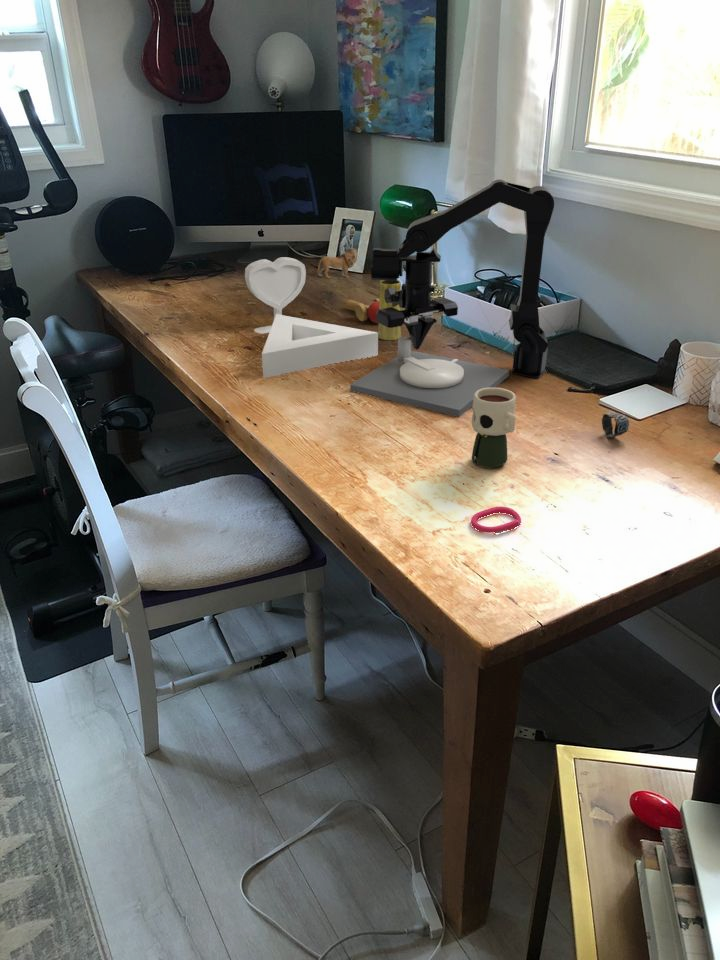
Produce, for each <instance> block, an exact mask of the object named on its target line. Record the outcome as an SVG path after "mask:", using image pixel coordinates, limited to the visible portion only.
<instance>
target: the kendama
mask: <svg viewBox="0 0 720 960" xmlns="http://www.w3.org/2000/svg"><path fill="white" fill-rule="evenodd" d="M344 306H345V308H346V310H348V311H354V312H355V315H356V317H357V319H358V320H359V321H361V322H364V321H367V320H368V319H369V320H370V322H372V323H375V324H377V325H379V323H378V322H376V313H377V312H378V310H379V298H374V299H373V300H372V303H369V304H368V305H367V304H364V303H361V302H359V301H355V300H353V299H348V300H347V301H346V302H345V305H344Z"/></svg>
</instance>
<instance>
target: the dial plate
mask: <svg viewBox="0 0 720 960" xmlns="http://www.w3.org/2000/svg"><path fill="white" fill-rule="evenodd" d="M411 357H414V358H416V359H418V360H419V359H440V360H446V361H450V362H454V363H456V364H458V365H460V366H461V367H462V368H463V369H464V378H463V380H462V382H460V383H459V384H457V385H454V386H451V387H446V388H421V387H416V386H412V385H409V384H407V383H405V382H404V381H402V380H401V378H400V367H401V366H402V365H403V364H405V363H404V362H400V361H398V355H397V356H396V357H395V356H394V358H391V360H389V361H387V362H385V363H384V364H382V365H380V366H379V367H377V368H376V369H373V370H372V371H371V372H369V373H367V374H365V375H364V376H362V377H360V378H359V379H357V380H355V381H353V382H351V383H350V384H349V391H350V390H351V391H350V392H353V391H355V392H354V393H357V392H359V393H358V394H361V393H362V395H365V394H367V395H366V396H369V395H371V396H370V397H373V396H375V397H374V398H378V397H379V399H382V398H383V399H382V400H385V401H390V400H391V402H394V403H399V404H403V405H406V406H411V407H417V408H421V409H424V410H427V411H428V410H429V411H432V412H437V413H440V414H445V415H449V416H454V417H457V418H460V417H461V416H463V415H464V414H465V413H466V412H467V411H469V409H471V408H473V398H474V393H475V392H476V391H477V390H480V389H482V388H489V387H490V388H498V386H499V385H500V384H501V383H503V382H504V381H506V379H508V378H509V376H510V370H509V369H505V368H499V367H495V366H491V365H485V364H480V363H475V362H470V361H466V360H462V359H460V360H459V359H458V358H451V357H447V356H446V357H445V356H441V355H436V354H430V353H425V352H421V351H416V350H411Z"/></svg>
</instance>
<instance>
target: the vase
mask: <svg viewBox="0 0 720 960" xmlns="http://www.w3.org/2000/svg"><path fill="white" fill-rule="evenodd" d="M401 286H402V282H401V281H400V280H398V279H397V281H381V280H379V298H378V299H379V309H384V308H390V307H392V303H386V302H385V298H384V294H385V289H390V288H395V290H396V291H401ZM393 308H395V309H397V310H399V311H401V307H399V305H397V306H394V307H393ZM377 327H378V332H377V333H378V339H380V340H383V341H398V338H400V337H402V328H401V327H402V326H398V327H393V328H388V327H386V326H384V325H382V324H380V323H379V324H378V326H377Z"/></svg>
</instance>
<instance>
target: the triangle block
mask: <svg viewBox="0 0 720 960" xmlns="http://www.w3.org/2000/svg"><path fill="white" fill-rule="evenodd" d="M271 325H272V327H271V330H270V333H268V336H267V338H266V341H265V343H264V346H263V349H262V352H261V362H262V364H261V365H262V374H263V375H262V377H263V379H266V377H267V378H271V377H270V376H272V377H277V376H281V374H283V375H286V374H285V373H288V374H291V373H290V372H293V373H296V372H295V371H298V372H301V371H300V370H303V371H306V370H305V369H308V370H311V369H310V368H313V369H315V368H314V367H318V368H321V367H320V366H323V367H325V366H324V365H328V364H333V365H335V364H334V363H338V364H341V363H340V362H343V363H346V362H345V361H348V362H351V361H350V360H353V361H356V360H355V359H358V360H362V359H361V358H363V359H368V358H372V356H373V357H377V355H378V356H379V338H378V332H377V331H372V330H366V329H362V328H361V329H360V328H356V327H349V326H343V325H339V324H333V323H327V322H322V321H316V320H311V319H305V318H301V317H295V316H294V317H293V316H290V315H288V316H287V315H284V314H282V315H279V314H276V316H275V319H274V318H273V322H272V324H271ZM367 357H368V358H367ZM328 366H329V365H328ZM276 375H277V376H276Z"/></svg>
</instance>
